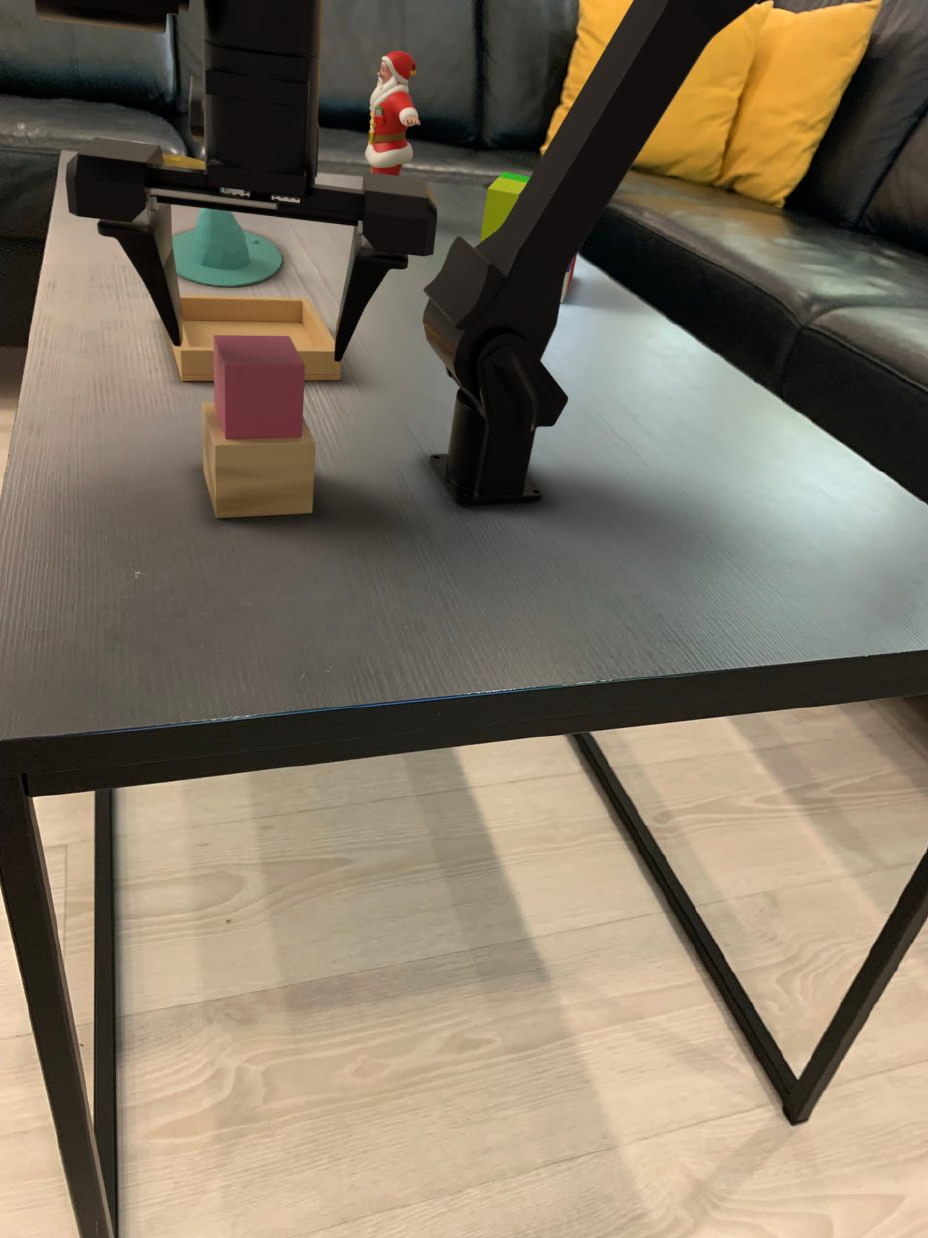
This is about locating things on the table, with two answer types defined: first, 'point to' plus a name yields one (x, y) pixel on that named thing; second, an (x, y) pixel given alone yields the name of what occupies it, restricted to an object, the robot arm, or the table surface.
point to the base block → (257, 471)
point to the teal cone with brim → (223, 252)
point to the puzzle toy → (499, 207)
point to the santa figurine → (391, 115)
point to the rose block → (258, 386)
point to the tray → (253, 332)
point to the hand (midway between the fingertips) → (259, 351)
